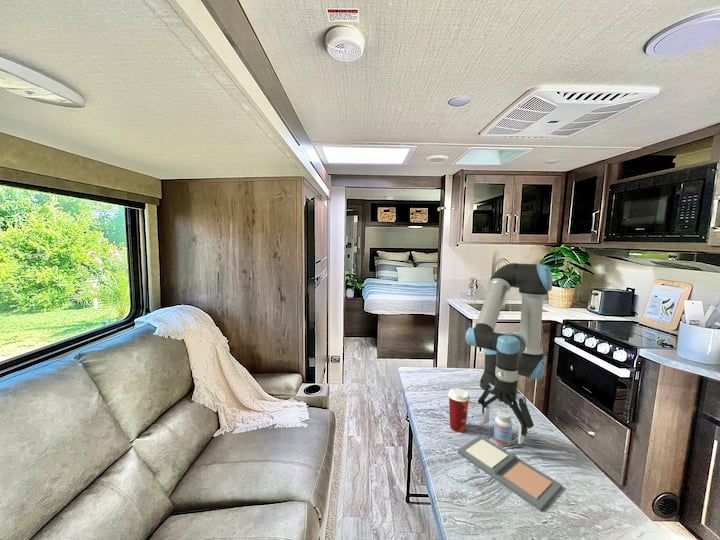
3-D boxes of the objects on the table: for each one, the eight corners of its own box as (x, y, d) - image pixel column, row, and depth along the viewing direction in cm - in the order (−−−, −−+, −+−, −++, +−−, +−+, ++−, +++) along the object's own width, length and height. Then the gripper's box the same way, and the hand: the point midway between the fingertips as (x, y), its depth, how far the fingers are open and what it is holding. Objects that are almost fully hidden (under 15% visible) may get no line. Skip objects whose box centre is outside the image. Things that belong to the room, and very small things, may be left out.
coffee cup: (469, 435, 116) (471, 399, 115) (447, 432, 118) (449, 396, 116) (466, 422, 125) (468, 388, 123) (446, 419, 126) (447, 386, 124)
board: (480, 437, 115) (480, 432, 115) (561, 487, 92) (562, 481, 92) (457, 452, 107) (457, 446, 107) (540, 511, 84) (540, 504, 84)
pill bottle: (491, 441, 113) (492, 413, 112) (496, 433, 117) (498, 407, 116) (508, 449, 109) (510, 420, 108) (513, 441, 113) (515, 413, 112)
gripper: (470, 368, 118) (467, 418, 120) (536, 395, 98) (532, 455, 100) (481, 364, 122) (478, 412, 125) (547, 389, 102) (542, 447, 104)
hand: (502, 432), depth 112 cm, fingers open, 13 cm apart
